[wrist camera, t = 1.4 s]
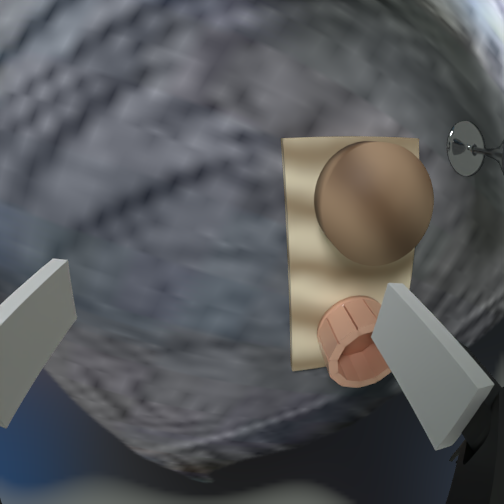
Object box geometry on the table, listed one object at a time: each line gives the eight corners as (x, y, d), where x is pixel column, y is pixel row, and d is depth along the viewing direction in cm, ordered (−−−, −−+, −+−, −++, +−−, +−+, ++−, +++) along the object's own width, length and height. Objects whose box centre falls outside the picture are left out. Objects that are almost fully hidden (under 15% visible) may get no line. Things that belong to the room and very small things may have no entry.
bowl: (362, 280, 35) (382, 307, 29) (395, 324, 37) (416, 352, 32) (301, 329, 37) (312, 361, 31) (341, 366, 39) (354, 397, 34)
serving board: (280, 138, 30) (283, 138, 29) (411, 138, 31) (418, 138, 29) (290, 363, 40) (292, 371, 39) (393, 346, 41) (397, 352, 39)
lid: (377, 117, 26) (392, 116, 23) (433, 205, 29) (450, 213, 26) (289, 193, 28) (295, 200, 25) (357, 275, 31) (368, 288, 28)
